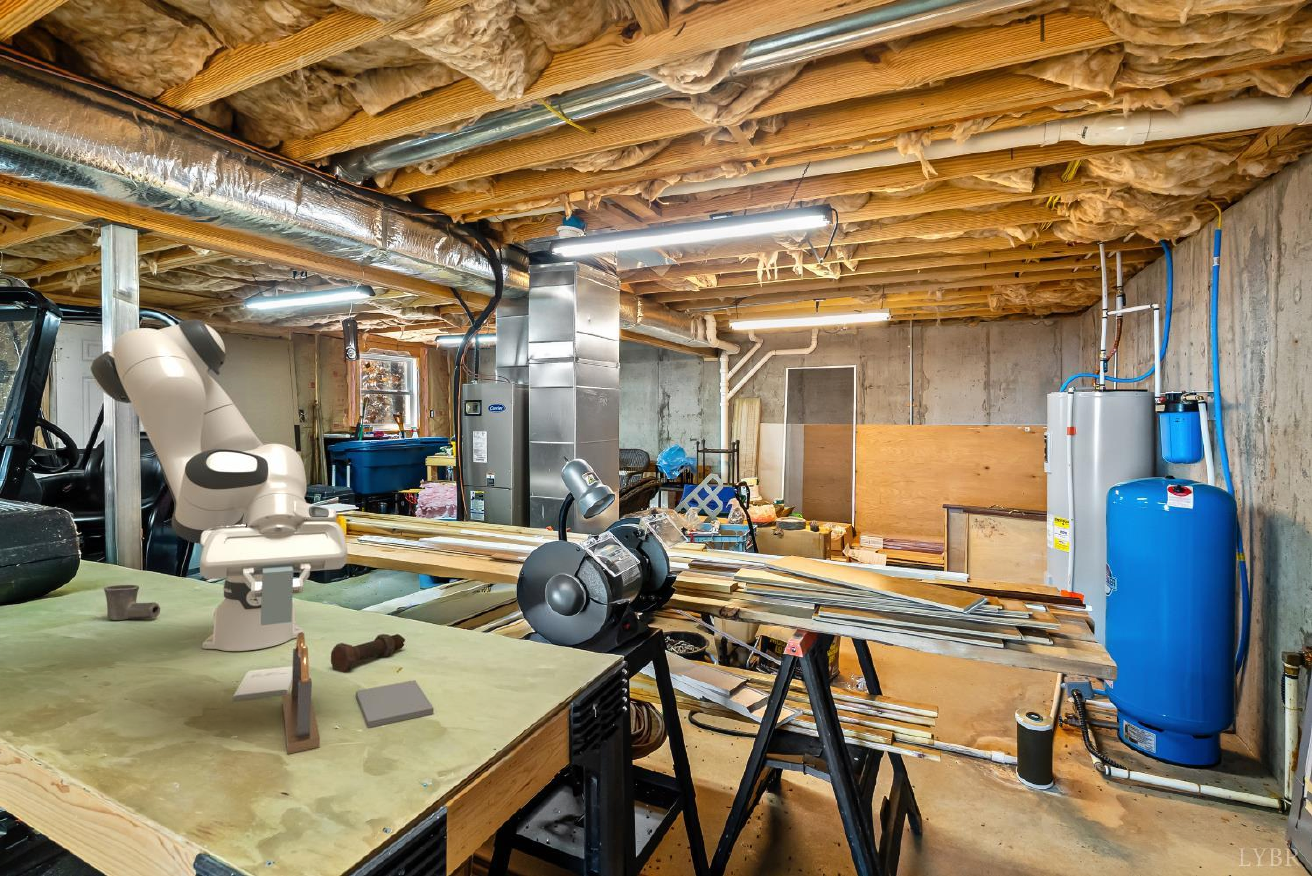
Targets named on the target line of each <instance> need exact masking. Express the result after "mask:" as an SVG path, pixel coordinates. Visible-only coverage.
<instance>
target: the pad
mask: <svg viewBox="0 0 1312 876" xmlns="http://www.w3.org/2000/svg"><path fill="white" fill-rule="evenodd" d="M355 698H356V701H357V704H358V706H359V708H360V710H361V714H362V716H363V719H364V721H365V723H366V727H367V728H368V729H369V728H375V727H379V726H382V725H387V724H394V723H397V722H402V721H403V722H404V721H407V720H411V719H416V718H417V719H418V718H420V717H421V718H422V717H425V716H430V715H434V706H433V705H432V704H431V702H430V701H429V699H428V697H427V695H426V694H425V693H424V692H423V690H422V689H421V687H420V685H419V684H418V682H417V681H416V680H415V679H414V680H413V679H412V680H409V681H402V682H396V683H391V684H386V685H380V686H374V687H369V688H364V689H358V690H355Z"/></svg>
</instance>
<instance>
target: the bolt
mask: <svg viewBox="0 0 1312 876" xmlns="http://www.w3.org/2000/svg"><path fill="white" fill-rule="evenodd" d="M405 642H406V638H404V637H403V636H402V635H400V634H398V633H397V634H393V635H390V634H386V633H382V634H378V635H377V636H376V637H375V638H374V640H372V641H367V642H365V643H361V644H357V645H352V644H348V643H347V644H346V643H343V642H341V643H340V642H339V643H336V644H335V646H334V647H332V648H333V649H332V650H331V653H330V664H331V666H332V668H333V669H334V671H337V672H340V673H346V672H350V671H351V669H352V667H353V666H354V664H356V663H358V662H362V661H365V660H369V659H371V658H374V657H379V658H387V657H390V656H391V655H392V654H393V652H395V651H397V650H401V649H402V648H403V647H404V646H405Z"/></svg>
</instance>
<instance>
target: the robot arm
mask: <svg viewBox="0 0 1312 876" xmlns="http://www.w3.org/2000/svg"><path fill="white" fill-rule="evenodd" d="M226 357H227V353H226V348H225V343H224V341H223V339H222V337H221V335H220V334H219V332H217V331H216V329H214V328H213V327H212V326H209V325H208V324H206V322H204V321H202V320H200V319H189V320H183V321H179V322H178V324H174V325H170V326H167V327H163V328H159V329H156V328H149V327H145V328H144V327H141V328H134V329H131V330H128V331H126V332H124V333H123V334H121V335H120V336H119V337H118V338H117V339H116V340H115V343H114V344H113V349H112V351H105V352H104V353H102V354H100V355H99V356H97V357H95V358H94V360H93V361H92V363H91V366H90V371H91V373H92V377H93V380H94V382H95V384H96V386H97V387H98V389H100V390H101V392H103V393H104V394H106V395H107V396H109V397H110V398H112V399H113V400H114V401H116V402H120V403H124V404H131V405H132V407H133V409H134V410H135V413H136V414H137V416H138V418H139V421H140V422H141V424H142V427H143V428H144V432H145V433H146V436H147V437H148V440H149V442H150V444H151V445H152V448H153V450H154V453H155V456H156V459H157V462H158V464H159V467H160V469H161V472H162V473H163V474H162V475H163V477H164V480H165V481H166V484H167V487H168V490H169V492H170V494H171V497H172V500H173V503H174V504H173V505H174V508H173V513H172V516H171V517H172V518H171V526H172V530H173V531H174V533H176V535H177V536H179V537H180V538H182V539H183V540H186V541H188V542H191V543H195V544H200V547H201V548H202V551H201V554H200V560H199V562H200V563H199V573H200V576H202V577H203V578H204V579H206V580H215V579H225V580H224V582H223V583H224V585H223V589H222V590H223V597H224V599H223V601H222V602H221V603H220V604H219V605H218V606H217V607H215V609H214V612H213V619H214V620H213V626H212V630H213V632H212V633H211V634H210V635H209V636H208V637H207V638H206V639H205V640H204V641H203V642H202V645H201V648H202V649H205V650H206V649H207V650H208V649H209V650H211V649H212V650H213V649H214V650H221V651H227V652H244V651H252V650H259V649H260V650H261V649H266V648H270V647H274V646H278V645H281V644H283V643H286V642H288V641H290V640H293V639H297V635H298V633H300V632H303V633H304V629H302V628H301V627H300V626H299V625H297V624H295V623H296V621H295V620H296V618H295V617H296V616H295V615H296V614H295V613H296V612H295V611H296V610H295V609H296V607H295V606H296V605H295V603H296V602H295V599H292V622H287V623H278V624H270V625H261V601H262V574H263V568H273V567H286V566H292V567H293V573H299V577H298V578H293V595H294V594H295V595H296V594H303V590H304V584H305V582H306V581H307V580H308V578H309V577H310V574H311V572H313V571H315V572H316V571H327V570H340V569H342V568H343V567H344V566H345V565H346V563H347V559H348V545H347V541H346V539H347V538H346V536H345V533H344V530H343V528H342V526H341V525H340V524H339V523H337V521H338V520H337V518H338V516H337V515H338V514H337V511H336V510H335V509H333V508H329V507H325V506H320V505H315V504H311V503H308V502H307V501H306V499H305V496H306V494H307V477H306V476H307V475H306V470H305V465H304V462H303V459H302V457H301V456H300V455H299V453H298V452H297V451H296V450H294V448H292V447H289V446H288V445H285V444H280V443H267V444H264V443H262V442H261V440H260V439H259V438H258V437H257V435H256V434H255V433H254V431H253V430H252V428H251V426H250V425H249V424H248V423H247V421H246V419H245V417H244V416H243V415H242V413H241V412H240V410H239V409H238V407H237V406H236V404H235V403H234V402H233V400H232V399H231V398H230V397H229V395H228V394H227V392H226V391H225V390H224V389H223V387H221V385H220V384H219V383H218V382H217V381H216V380H215V379H214V378H213V377H212V376H211V375H210V373H209V371H213V372H214V373H215V374H216V375H217V376H219V375H220V374H221V371H220V369H221V367H223V365H224V364H225V361H226Z"/></svg>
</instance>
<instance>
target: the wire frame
mask: <svg viewBox="0 0 1312 876" xmlns="http://www.w3.org/2000/svg"><path fill="white" fill-rule="evenodd" d="M291 666H292V683H291V692H288V694H284V695H282V710H283V719H284V720H283V721H284V730H285V739H286V741H285V742H286V749H287V755H290V754H295V753H300V752H304V751H308V750H309V751H310V750H313V749H317V748H320V743H321V740H320V739H321V737H320V732H319V727H318V722H317V717H316V714H315V713H316V712H315V708H314V704H313V700H312V684H313V683H312V682H313V680H312V678H311V677H310V669H309V667H310V664H309V648H308V645H307V646H306V638H305V632H304V631H303V632H300V633H298V635H297V637H296V643H295V648H292V665H291Z"/></svg>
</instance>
